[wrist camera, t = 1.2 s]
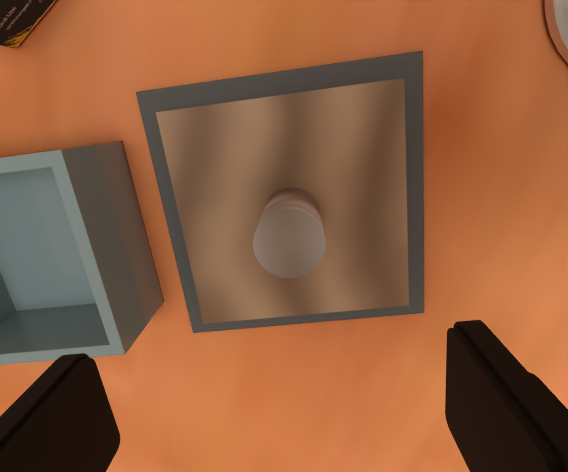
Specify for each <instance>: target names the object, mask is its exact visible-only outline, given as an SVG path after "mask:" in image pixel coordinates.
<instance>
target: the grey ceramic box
mask: <svg viewBox="0 0 568 472" xmlns="http://www.w3.org/2000/svg"><path fill="white" fill-rule="evenodd" d="M163 302H164V300H163V296H162V292H161V288H160V284H159V281H158V277H157V273H156V269H155V265H154V261H153V257H152V254H151V250H150V246H149V242H148V238H147V234H146V231H145V227H144V223H143V219H142V215H141V211H140V207H139V204H138V200H137V196H136V192H135V188H134V184H133V180H132V177H131V173H130V169H129V165H128V161H127V157H126V154H125V150H124V146H123V142H122V141H118V142H110V143H103V144H95V145H88V146H80V147H73V148H65V149H58V150H50V151H43V152H35V153H28V154H20V155H13V156H5V157H0V365H5V364H16V363H28V362H40V361H52V360H57V359H58V358H59V357H60V356H62V355H68V354H80V353H85V354H87V355H88V356H89V357H100V356H112V355H124V354H126V352H127V351H128V350H129V348H130V347H131V346H132V344H133V343H134V342H135V340H136V339H137V337H138V336H139V335H140V333H141V332H142V331H143V329H144V328H145V326H146V325H147V324H148V322H149V321H150V320H151V318H152V317H153V315H154V314H155V313H156V311H157V310H158V309H159V307H160V306H161V304H162V303H163Z"/></svg>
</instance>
